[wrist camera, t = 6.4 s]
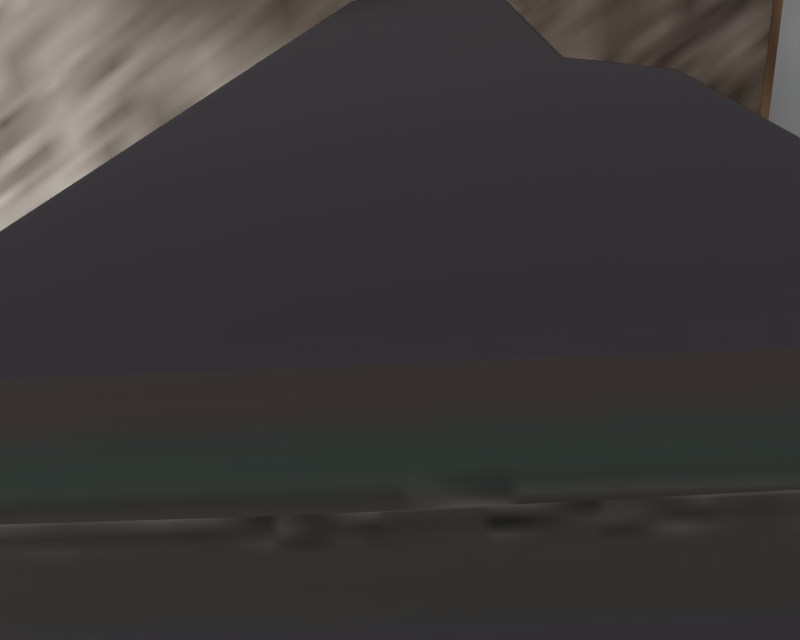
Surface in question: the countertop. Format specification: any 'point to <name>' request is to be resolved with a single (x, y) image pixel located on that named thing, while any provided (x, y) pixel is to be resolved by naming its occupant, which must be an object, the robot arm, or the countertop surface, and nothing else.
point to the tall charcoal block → (411, 355)
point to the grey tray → (787, 71)
